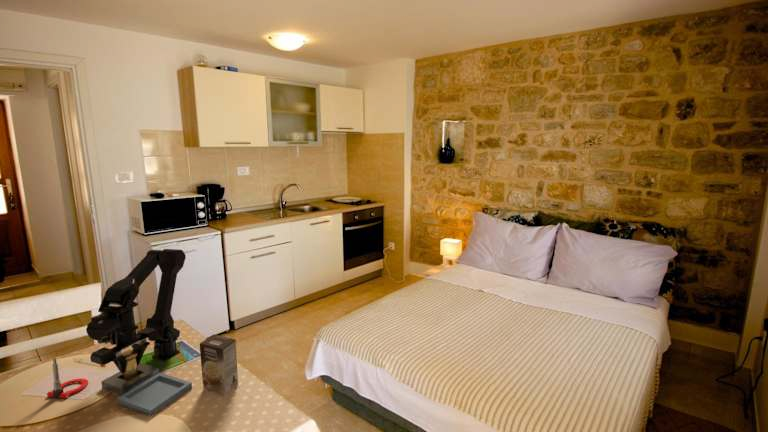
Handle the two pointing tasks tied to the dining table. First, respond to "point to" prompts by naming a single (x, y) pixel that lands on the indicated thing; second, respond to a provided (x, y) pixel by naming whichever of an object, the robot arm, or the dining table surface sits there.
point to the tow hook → (58, 386)
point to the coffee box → (219, 364)
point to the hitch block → (123, 386)
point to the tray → (154, 394)
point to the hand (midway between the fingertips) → (129, 369)
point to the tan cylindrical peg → (130, 364)
